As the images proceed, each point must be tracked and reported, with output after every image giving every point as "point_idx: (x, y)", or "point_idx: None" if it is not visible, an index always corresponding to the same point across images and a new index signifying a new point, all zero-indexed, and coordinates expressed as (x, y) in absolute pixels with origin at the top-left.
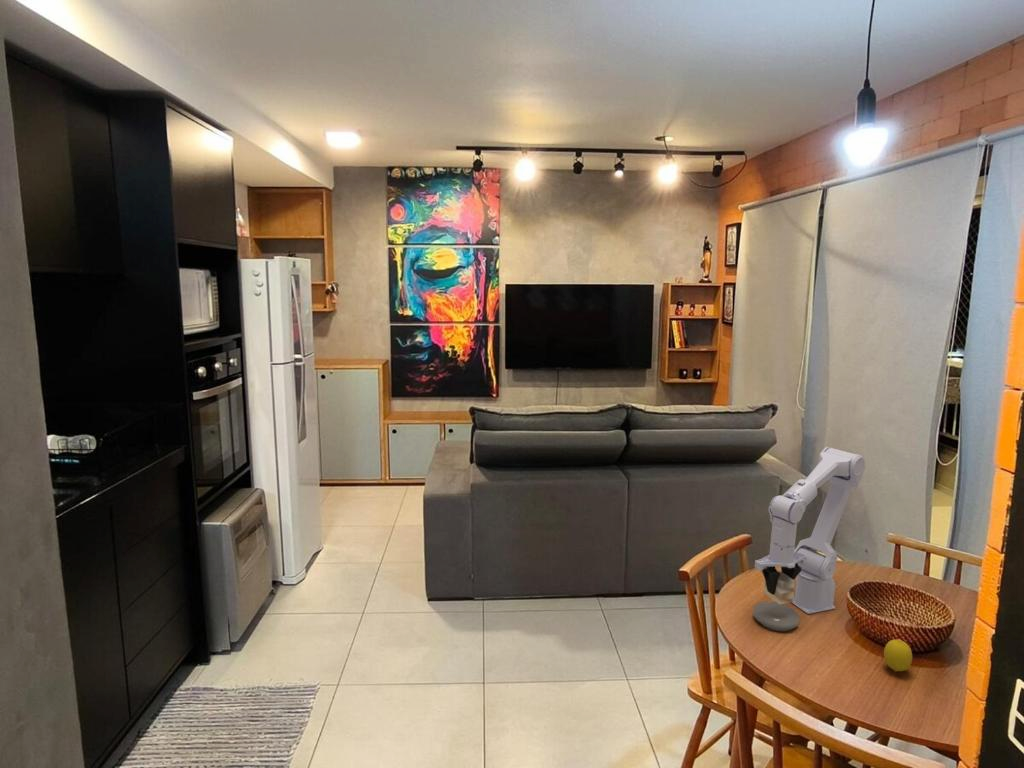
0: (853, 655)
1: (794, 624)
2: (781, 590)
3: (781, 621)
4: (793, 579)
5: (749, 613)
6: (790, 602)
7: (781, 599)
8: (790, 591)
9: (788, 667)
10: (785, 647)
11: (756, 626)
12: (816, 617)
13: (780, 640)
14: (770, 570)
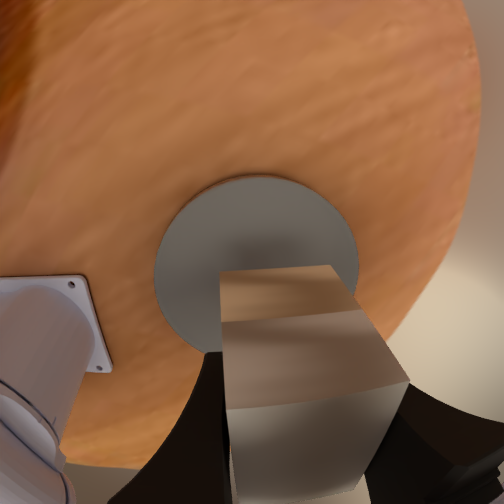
0: None
1: (233, 181)
2: (373, 326)
3: (291, 214)
4: (189, 428)
5: None
6: (240, 270)
7: (333, 283)
8: (262, 322)
9: (415, 10)
10: (350, 92)
11: None
12: (62, 249)
13: (336, 138)
14: (483, 480)
